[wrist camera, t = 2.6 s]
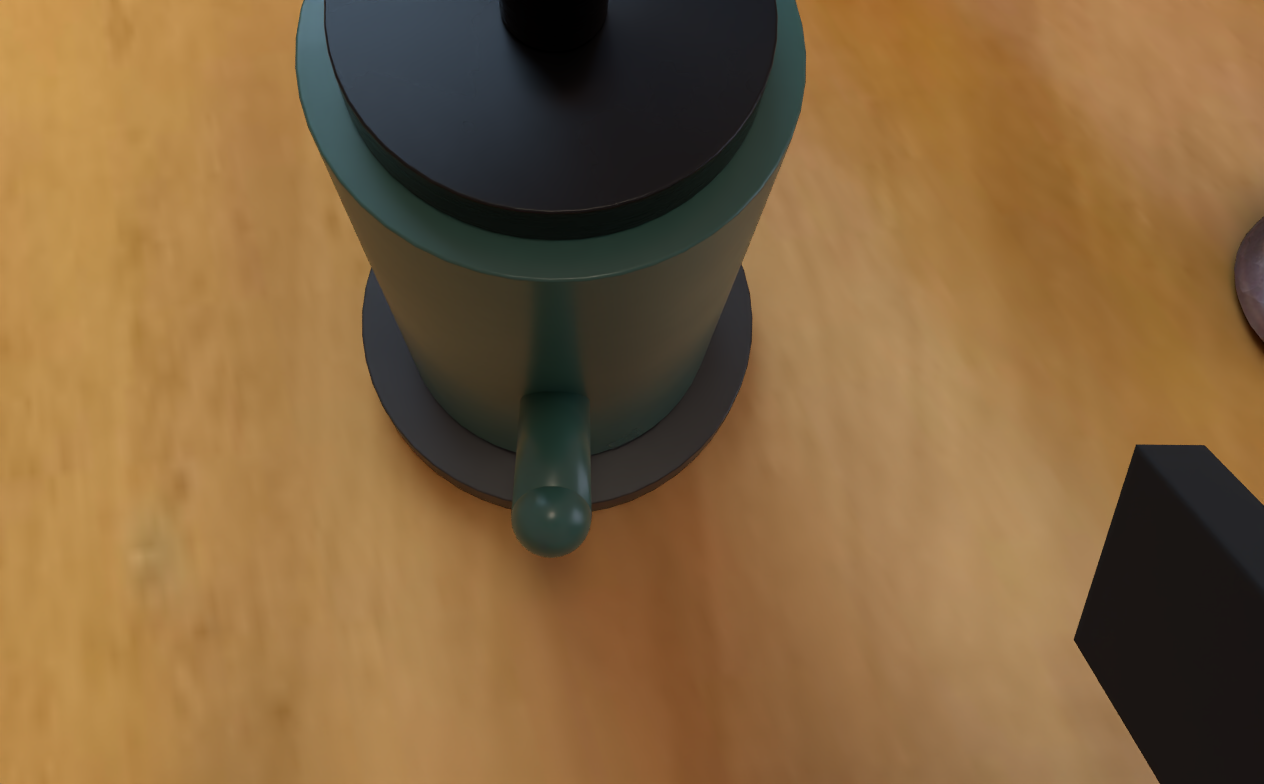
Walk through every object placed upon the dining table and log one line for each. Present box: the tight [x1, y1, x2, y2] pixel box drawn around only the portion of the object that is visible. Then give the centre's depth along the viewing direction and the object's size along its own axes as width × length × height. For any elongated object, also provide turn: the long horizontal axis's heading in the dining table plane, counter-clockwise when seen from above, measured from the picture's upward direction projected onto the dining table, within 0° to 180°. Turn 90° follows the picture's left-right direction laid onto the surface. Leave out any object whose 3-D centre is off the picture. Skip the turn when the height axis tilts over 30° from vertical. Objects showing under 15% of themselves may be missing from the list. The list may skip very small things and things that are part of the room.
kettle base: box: [362, 264, 752, 511], centre depth 36 cm, size 13×13×2 cm
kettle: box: [295, 0, 806, 558], centre depth 27 cm, size 19×10×18 cm, turn 0°
